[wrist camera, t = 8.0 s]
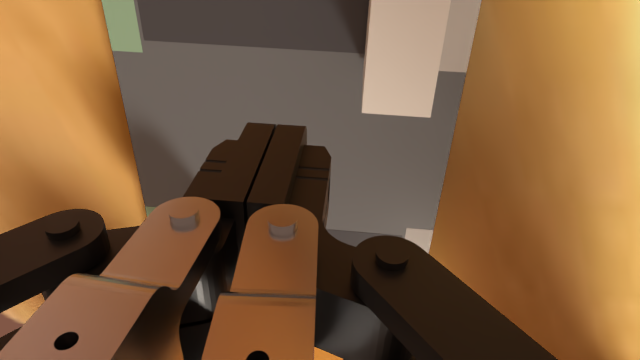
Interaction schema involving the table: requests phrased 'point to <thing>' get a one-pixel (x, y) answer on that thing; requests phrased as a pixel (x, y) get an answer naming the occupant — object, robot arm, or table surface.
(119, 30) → the breaker panel
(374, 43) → the beige rectangular block
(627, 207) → the table surface
